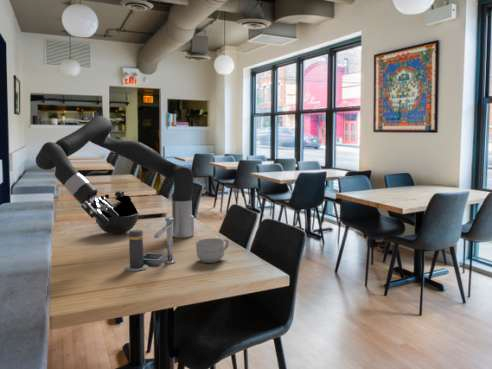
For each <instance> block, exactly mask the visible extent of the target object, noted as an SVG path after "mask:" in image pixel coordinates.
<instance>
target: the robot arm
mask: <svg viewBox="0 0 492 369" xmlns="http://www.w3.org/2000/svg"><path fill="white" fill-rule="evenodd" d="M112 129H113V124H112V122H111V120H110V119H108V118H107V117H105V115H95V116H94V117H91V119H90V120H89V121H88V122H87V123H86V124H84V125H83V126H81V127H80V128H78V129H77V130H75V131H73V132H71V133H69V134H67V135H66V136H63V137H61V138H59V139H58V140H56V141H55V142H52V141H48V142H45V143H44V144H43V145H42V146H41V148H40V150H39V151H38V153H37V155H36V157H35V165H37V167H38V168H39V169H41V170H43V171H44V170H46V171H47V170H53V169H55V171H54V176H55V178H56V179H57V180H58V181H59V182H60V183H61V184H62V185H63V187H64V188H65V190H67V192H68V193H69V194H71V196H73V198H74V199H76V201H77V202H79V204H80V207H81V208H82V209H83V211H84V212H85V213H87V215H88V216H89V217H90V218H91V219H95V218H98V219H99V220H100V221H101V222H102V223H103V224H104V225H106V224H107V223H108V222H109V220H108V219H107V218H106V217H105V216H104V215H103V214H101V211H106V212H108V213H109V214H110V216H111V217H112V218H113V219H114V220H116V219H117V218H118V217H119V215H118V214H117V213H116V212H115V211H114V209H113V207H114V205H113V204H114V203H112V201H110V200H109V198H108V199H107V198H106V197H105V195H103V194H102V195H101V196H99V195H98V189H97V188H96V187H95V186H94V185H93V184H92V183H91V182H90V181H89V180H88V179H87V178H86V177H85V176H84V175H83V174H82V173H80V172H79V170H77V169H76V167H74V166H73V164H72V163H71V161H70V159H69V158H68V157H70V156H72V155H74V154H75V153H77V152H78V151H80V150H81V149H83V148H84V147H85V146H86V145H87V144H88V143H89V142H90V143H92V144H94V145H96V146H99V147H101V148H104V149H106V150H108V151H111V152H113V153H115V154H117V155H119V156H121V157H123V158H125V159H127V160H129V161H131V162H133V163H135V164H136V165H139V166H141V167H142V168H145V169H147V170H149V171H153V172H155V173H157V174H160V175H161V176H162V177H165V179H168V180H169V181H170V182H172V183H173V193H172V194H171V210H172V211H171V212H172V213H171V215H172V217H171V218H174V221H172V238H173V237H174V238H177V239H178V238H179V239H184V238H185V239H186V238H190V237H192V236H193V235H194V236H195V219H194V218H195V216H194V215H193V208H192V207H193V203H192V202H193V200H192V199H193V194H194V174H193V171H192V169H191V168H189V167H187V166H185V165H184V166H183V165H180V164H177V163H175V162H172V161H170V160H168V159H167V158H165V157H163V155H161V154H159V152H157V151H156V150H155V149H154V148H151V147H150V146H148V145H146V144H144V143H142V142H140V141H136V140H120V139H116V138H113V137H111V136H109V135H110V133H111V132H112ZM108 204H109V205H108ZM106 208H107V209H106ZM100 210H101V211H100Z"/></svg>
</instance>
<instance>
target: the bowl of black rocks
mask: <svg viewBox="0 0 492 369" xmlns="http://www.w3.org/2000/svg"><path fill="white" fill-rule="evenodd" d="M104 196H105V197H106V198H107V199H108V200H109V197H110V195H109V194H105V195H104ZM114 199H115V200H116V201H117V202H122V203H121V204H119V205H118V206H117V207H116V208H115V207H113V209H114V211H115V212H116V213H117V214H118V215H119V217H118V218H117V219H116V220H114V219H113V218H112V217H111V216H110V214H109V213H108V212H106V211H101V210H100V211H101V214H103V215H104V216H105V217H106V218H107V219H108V220H109V222H108V223H107V224H106V225H104V224H103V223H102V222H101V221H100V220H99V219H98V218H95V217H94V219H95V221H96V223H97V225H98V226H99V228H100V229H101V230H102V231H104V232H105V233H107V234H110V235H115V236H117V235H118V236H119V235H123V234H126V233H129V231H132V229H133V228H134V227H135V225H136V224H137V222H138V219H139V214H140V213H139V212H138V210H137V208H136V205H134V204H135V203H134V202H132V198H131V197H130V196H129V195H125V194H124V196H119V197H118V198H116V197H114ZM108 205H109V204H108ZM106 209H107V208H106Z"/></svg>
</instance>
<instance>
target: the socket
mask: <svg viewBox="0 0 492 369" xmlns="http://www.w3.org/2000/svg"><path fill="white" fill-rule="evenodd" d="M165 260H168V257H167V253H160V252H143V264H147V265H148V266H158V267H159V266H161V265H163V263H165Z"/></svg>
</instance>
